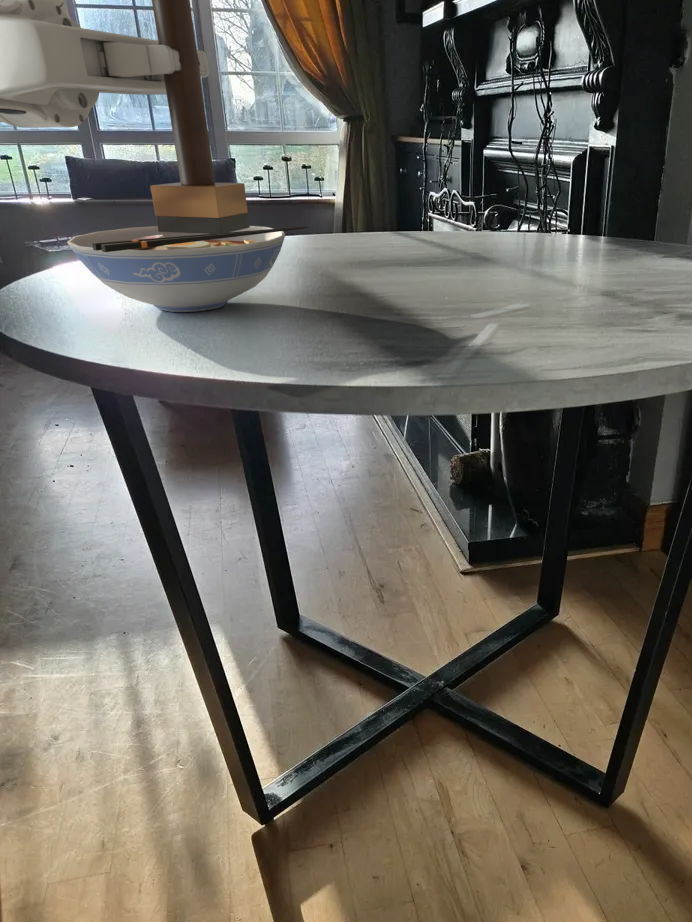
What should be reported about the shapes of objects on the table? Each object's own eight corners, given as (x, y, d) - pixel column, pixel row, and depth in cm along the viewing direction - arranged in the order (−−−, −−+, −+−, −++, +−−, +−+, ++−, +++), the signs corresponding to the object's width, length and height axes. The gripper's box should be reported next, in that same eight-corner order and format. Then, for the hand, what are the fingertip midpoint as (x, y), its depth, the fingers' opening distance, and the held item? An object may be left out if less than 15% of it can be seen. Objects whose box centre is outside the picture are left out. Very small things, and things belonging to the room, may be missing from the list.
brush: (158, 232, 66) (103, -75, 56) (189, 225, 70) (144, -61, 60) (221, 234, 65) (177, -80, 54) (249, 227, 69) (214, -65, 58)
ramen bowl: (228, 280, 103) (218, 212, 99) (341, 303, 90) (335, 225, 85) (38, 309, 87) (16, 229, 83) (141, 341, 74) (121, 248, 70)
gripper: (125, 112, 74) (256, 111, 71) (-42, 107, 57) (120, 106, 54) (110, 30, 71) (247, 26, 68) (-72, 0, 54) (99, -8, 51)
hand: (189, 61), depth 61 cm, fingers closed on brush, 3 cm apart
